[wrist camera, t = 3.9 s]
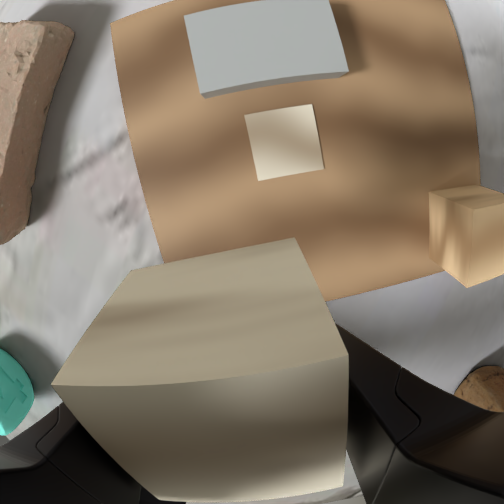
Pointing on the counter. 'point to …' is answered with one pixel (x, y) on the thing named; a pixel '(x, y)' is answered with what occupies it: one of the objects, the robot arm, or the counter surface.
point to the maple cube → (467, 233)
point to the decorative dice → (13, 393)
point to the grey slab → (264, 45)
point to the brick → (25, 110)
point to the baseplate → (304, 143)
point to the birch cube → (216, 378)
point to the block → (484, 388)
